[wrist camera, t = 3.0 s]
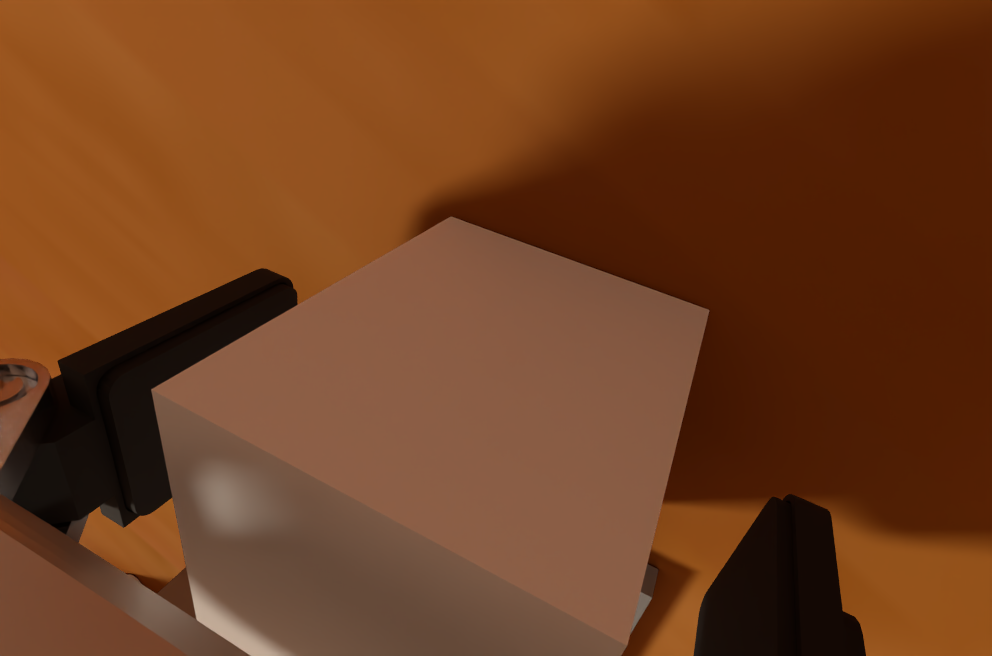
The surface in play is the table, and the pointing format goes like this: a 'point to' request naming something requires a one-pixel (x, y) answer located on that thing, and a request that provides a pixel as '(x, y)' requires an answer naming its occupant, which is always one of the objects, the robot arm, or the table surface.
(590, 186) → the table surface
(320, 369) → the white block
